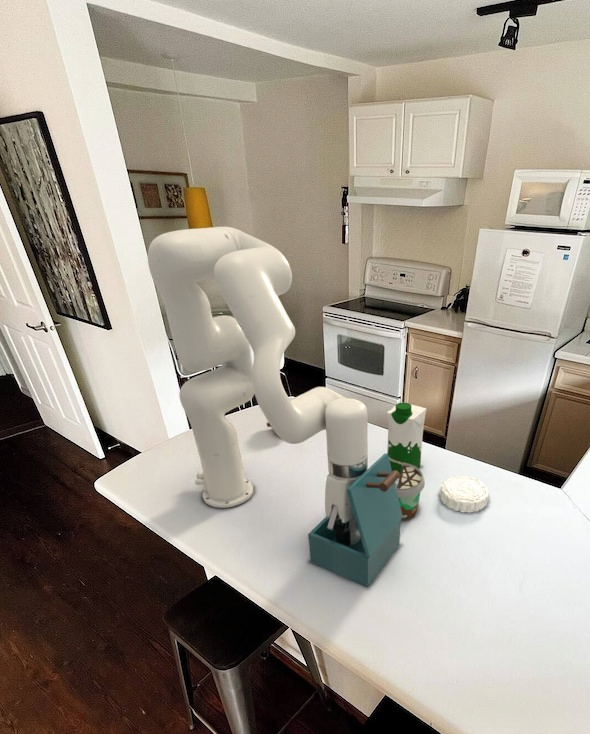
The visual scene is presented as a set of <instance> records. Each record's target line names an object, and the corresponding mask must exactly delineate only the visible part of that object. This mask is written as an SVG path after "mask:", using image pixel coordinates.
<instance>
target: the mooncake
mask: <svg viewBox="0 0 590 734" xmlns="http://www.w3.org/2000/svg"><path fill="white" fill-rule="evenodd" d="M439 496H440V501H441V502H442V504H444V505H445V506H447V508H449V509H452V510H453V511H456V512H458V511H459V512H460V513H469V514H471V513H473V512H475V513H477V512H479V510H483V509H484V508H485V507H487V505H488V501H489V497H490V491H489V487H488V486H486V484H485V483H484V482H482V481H481V480H479V479H476V478H475V477H473V476H472V477H471V476H466V475H464V476H462V475H457V476H451V477H450V478H446V479H445V480H444V481H442V484H441V486H440V492H439Z"/></svg>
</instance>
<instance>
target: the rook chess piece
mask: <svg viewBox="0 0 590 734" xmlns="http://www.w3.org/2000/svg"><path fill="white" fill-rule="evenodd" d="M348 530H350V540H351V544H350V545H352V544H355V543H357V542H358V541H359V540H360V533H359V530H358V528H357V527H356V520H355V516H353V517H352V518H351V519H350V520H349V527H348Z"/></svg>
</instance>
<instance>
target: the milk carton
mask: <svg viewBox="0 0 590 734" xmlns="http://www.w3.org/2000/svg"><path fill="white" fill-rule="evenodd" d="M426 414H427V407H422V406H419V405H414V404H410V403H409V402H403V401H401V402H398V403H396V405H394V406H393V407H391V409H389V410H388V411H387V412H386V415H387V423H388V424H387V448H386V449H387V452H386V454H388V456H389V461H390V465H391V469H392V471H393V470H396V471H398V472H399V473H400V474H401V470H402V463H408V464H411V465H413V466H415V467H417V468H418V469H420V467H421V460H422V448H423V438H424V437H423V435H424V424H425V419H426Z"/></svg>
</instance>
